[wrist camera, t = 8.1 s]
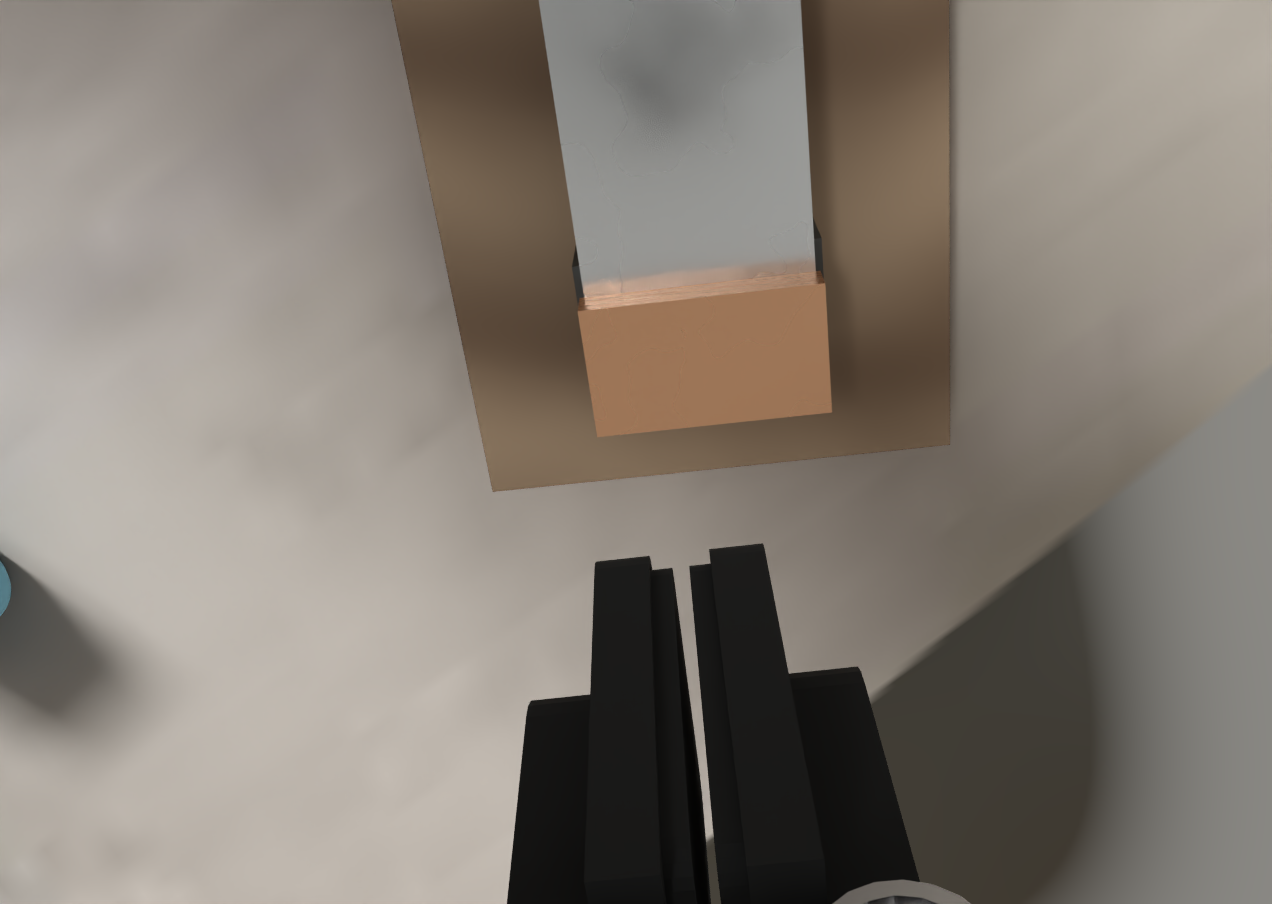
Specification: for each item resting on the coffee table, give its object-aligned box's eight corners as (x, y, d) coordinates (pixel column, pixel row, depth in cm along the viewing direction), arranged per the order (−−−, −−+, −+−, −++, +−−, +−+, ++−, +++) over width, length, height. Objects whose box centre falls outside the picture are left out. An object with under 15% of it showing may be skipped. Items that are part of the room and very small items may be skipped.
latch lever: (466, -481, 20) (448, -510, 19) (769, -530, 20) (780, -564, 18) (601, 406, 28) (598, 444, 26) (820, 382, 28) (832, 420, 26)
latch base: (303, -535, 23) (203, -638, 18) (924, -637, 22) (1005, -777, 17) (501, 456, 33) (473, 571, 28) (933, 411, 32) (986, 520, 27)
